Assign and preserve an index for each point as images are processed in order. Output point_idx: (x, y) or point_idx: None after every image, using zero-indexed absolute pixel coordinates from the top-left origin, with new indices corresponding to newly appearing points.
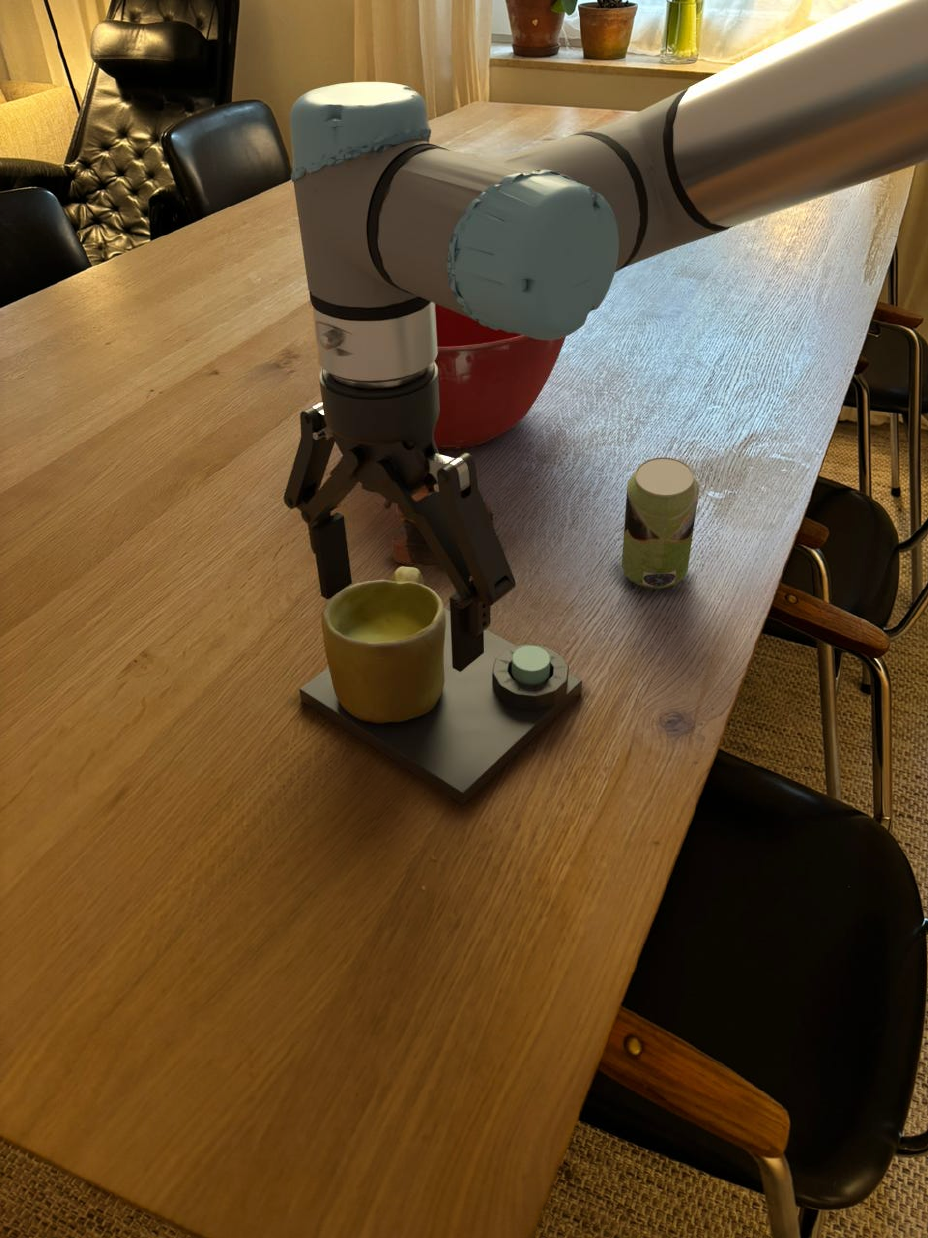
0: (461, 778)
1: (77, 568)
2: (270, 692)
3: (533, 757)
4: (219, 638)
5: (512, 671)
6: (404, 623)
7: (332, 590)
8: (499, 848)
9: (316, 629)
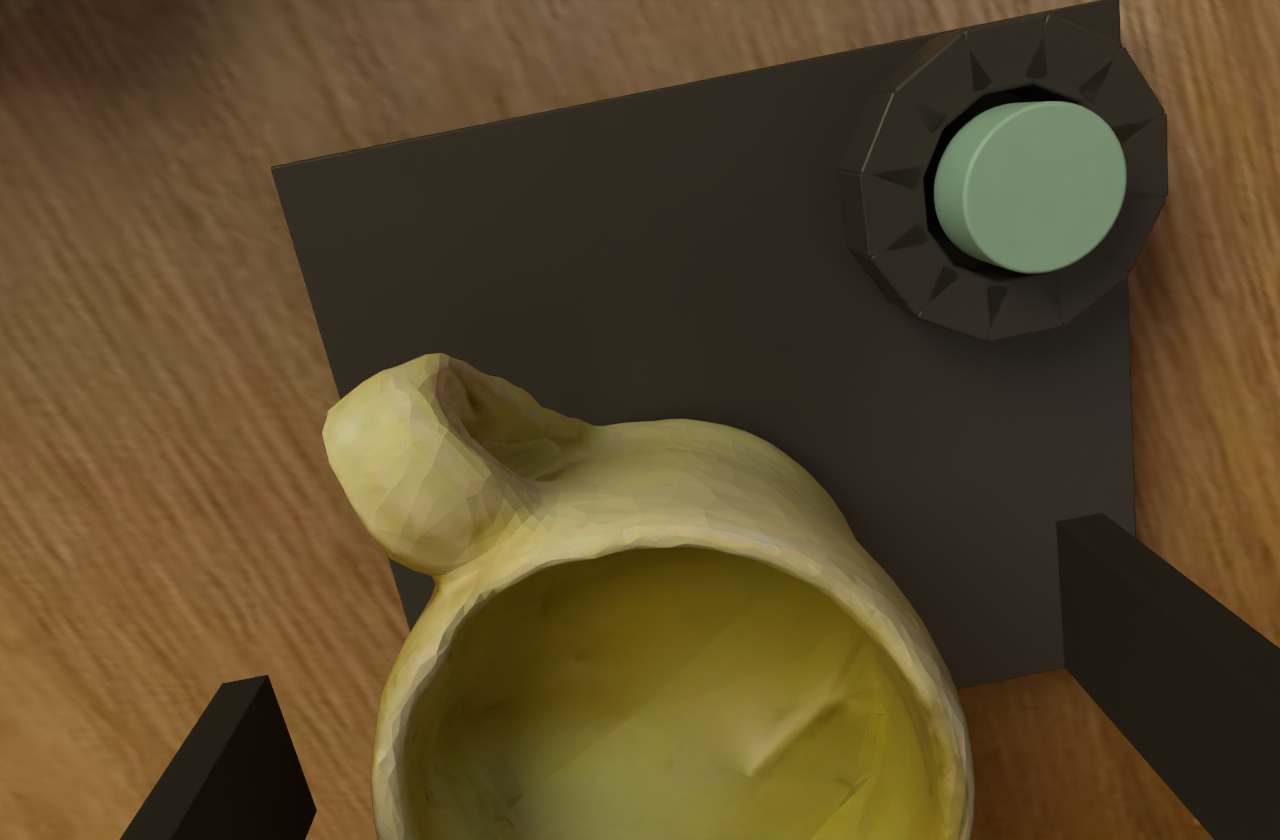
0: None
1: None
2: (371, 801)
3: (1144, 357)
4: (26, 813)
5: (978, 258)
6: (648, 612)
7: (297, 806)
8: (1270, 631)
9: (164, 555)
